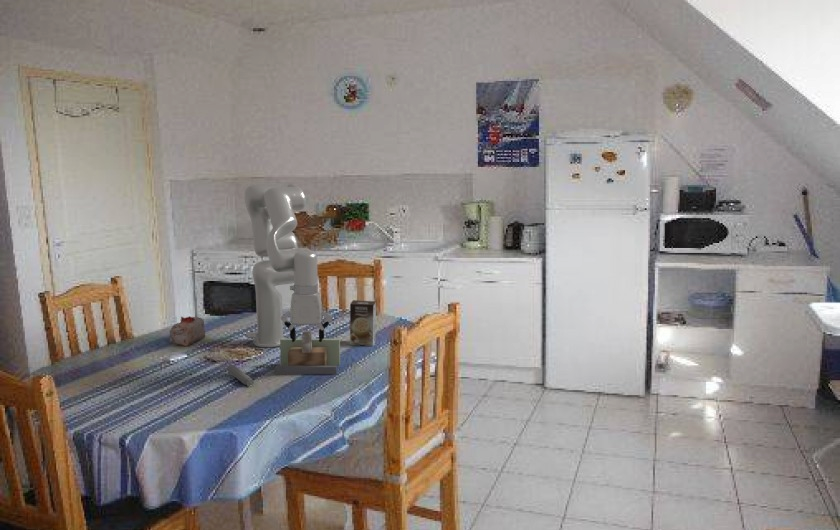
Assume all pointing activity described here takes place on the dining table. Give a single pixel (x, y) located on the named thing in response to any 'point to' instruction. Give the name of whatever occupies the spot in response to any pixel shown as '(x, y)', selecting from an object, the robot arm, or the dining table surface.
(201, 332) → the food item
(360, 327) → the coffee box
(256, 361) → the dining table surface
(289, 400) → the dining table surface
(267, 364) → the dining table surface
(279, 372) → the cleat board
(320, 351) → the walnut mallet
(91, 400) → the dining table surface
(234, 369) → the kitchen whisk
